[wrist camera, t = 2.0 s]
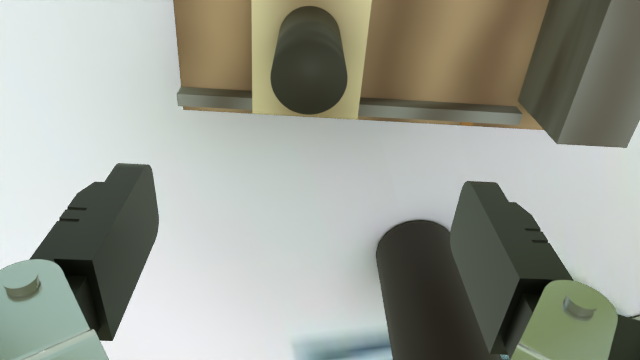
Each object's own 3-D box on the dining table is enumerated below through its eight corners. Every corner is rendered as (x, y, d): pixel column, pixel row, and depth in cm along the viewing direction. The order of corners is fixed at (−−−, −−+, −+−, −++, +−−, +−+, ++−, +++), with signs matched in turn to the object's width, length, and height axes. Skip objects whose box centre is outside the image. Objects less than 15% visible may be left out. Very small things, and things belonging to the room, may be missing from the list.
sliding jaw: (369, -63, 26) (397, -33, 18) (352, 92, 31) (367, 174, 22) (258, -72, 26) (233, -45, 17) (259, 87, 31) (238, 168, 22)
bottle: (431, 204, 38) (527, 468, 21) (469, 256, 41) (579, 524, 24) (359, 243, 40) (394, 512, 23) (401, 290, 43) (458, 558, 26)
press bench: (667, -84, 27) (773, -71, 21) (584, 123, 34) (645, 179, 28) (169, -123, 26) (123, -122, 20) (188, 100, 33) (158, 154, 27)
